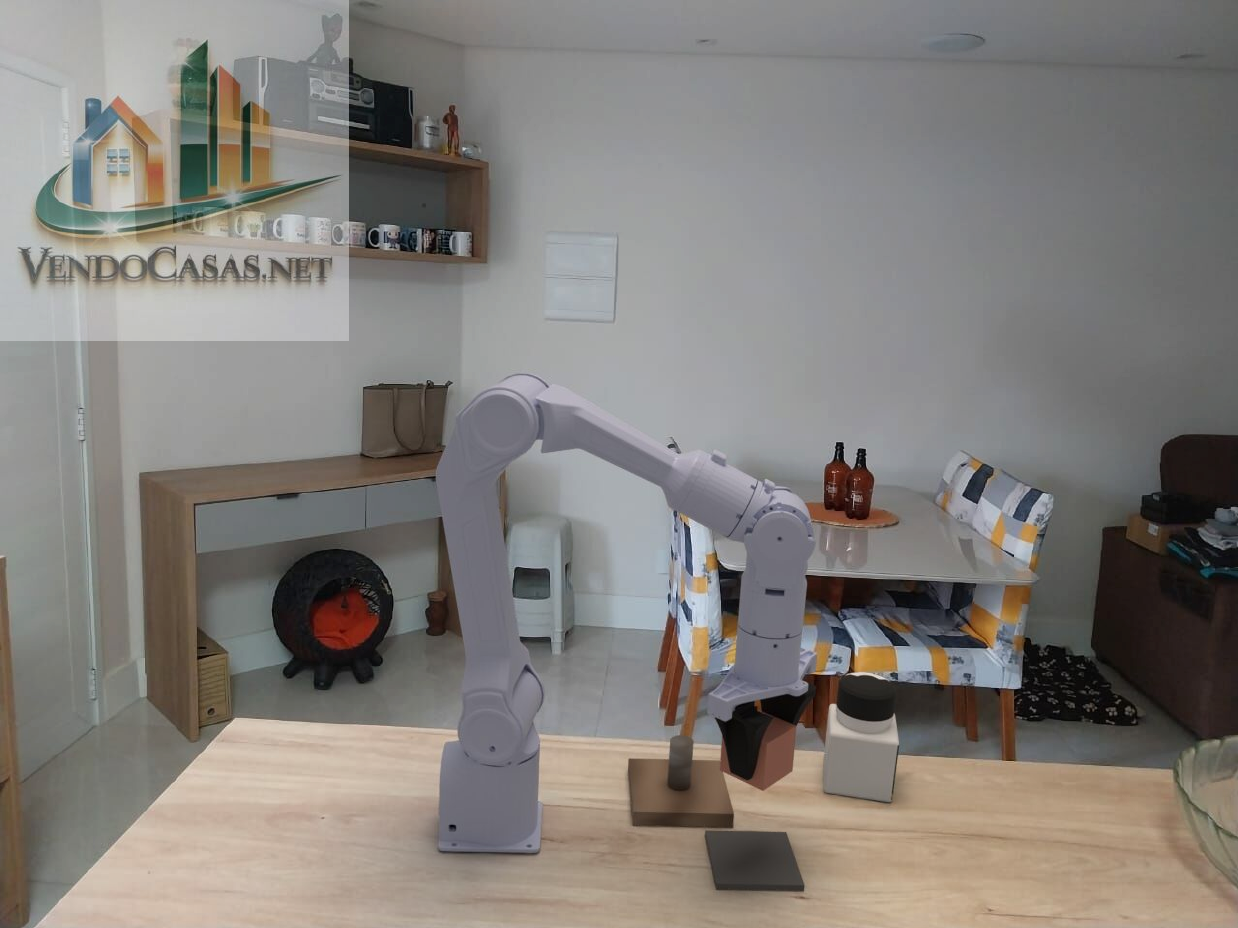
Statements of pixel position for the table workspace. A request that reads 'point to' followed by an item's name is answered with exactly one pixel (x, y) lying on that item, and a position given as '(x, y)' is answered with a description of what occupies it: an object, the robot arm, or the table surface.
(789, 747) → the terracotta cube
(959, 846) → the table surface
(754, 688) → the robot arm
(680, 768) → the post block
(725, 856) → the mat
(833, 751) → the medicine bottle
